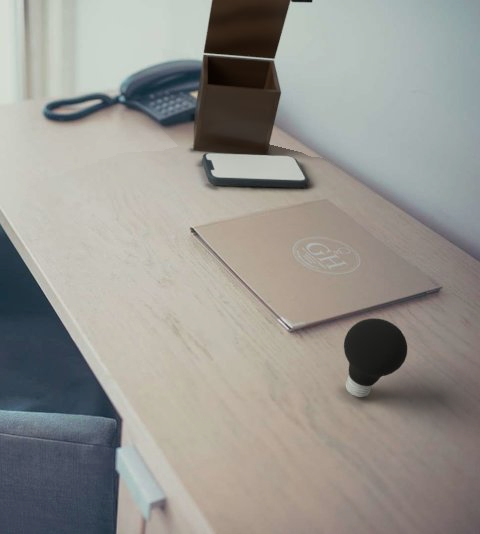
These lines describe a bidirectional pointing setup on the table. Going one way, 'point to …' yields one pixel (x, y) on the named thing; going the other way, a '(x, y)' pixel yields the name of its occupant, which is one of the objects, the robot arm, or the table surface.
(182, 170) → the table surface
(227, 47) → the lid
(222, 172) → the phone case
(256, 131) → the chest
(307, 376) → the table surface
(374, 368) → the light bulb
